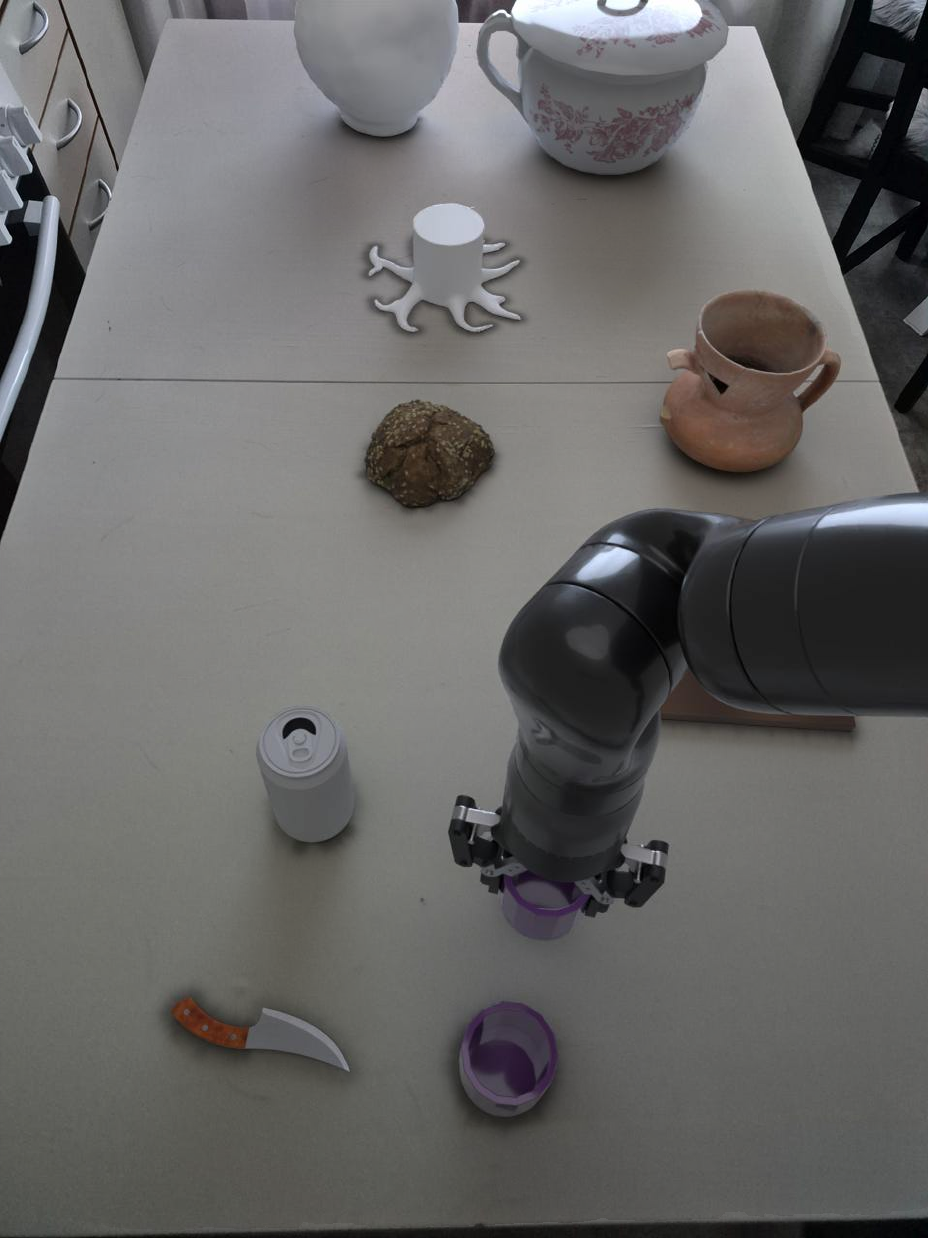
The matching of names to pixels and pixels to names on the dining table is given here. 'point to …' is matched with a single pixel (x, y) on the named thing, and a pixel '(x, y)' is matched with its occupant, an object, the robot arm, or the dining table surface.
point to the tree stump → (446, 265)
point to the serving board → (738, 711)
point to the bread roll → (427, 453)
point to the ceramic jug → (747, 380)
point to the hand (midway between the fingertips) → (543, 891)
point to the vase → (377, 57)
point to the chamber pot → (607, 75)
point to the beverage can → (306, 772)
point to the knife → (262, 1033)
